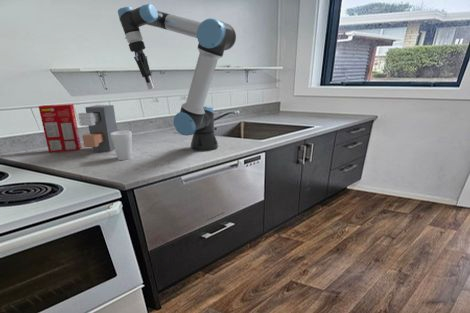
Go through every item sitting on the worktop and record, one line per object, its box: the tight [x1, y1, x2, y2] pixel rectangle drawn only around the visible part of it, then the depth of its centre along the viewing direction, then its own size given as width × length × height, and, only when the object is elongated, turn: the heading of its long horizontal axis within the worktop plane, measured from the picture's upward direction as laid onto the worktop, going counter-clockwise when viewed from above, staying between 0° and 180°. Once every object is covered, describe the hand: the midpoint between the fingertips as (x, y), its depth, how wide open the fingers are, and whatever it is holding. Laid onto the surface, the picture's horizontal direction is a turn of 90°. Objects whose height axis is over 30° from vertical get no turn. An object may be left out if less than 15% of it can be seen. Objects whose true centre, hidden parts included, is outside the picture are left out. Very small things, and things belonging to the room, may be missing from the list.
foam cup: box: [110, 130, 133, 161], centre depth 131 cm, size 10×9×13 cm
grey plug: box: [78, 112, 101, 127], centre depth 138 cm, size 13×6×6 cm, turn 175°
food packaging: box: [38, 103, 82, 154], centre depth 147 cm, size 15×5×25 cm, turn 106°
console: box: [84, 104, 118, 153], centre depth 147 cm, size 10×10×24 cm
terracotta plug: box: [81, 133, 104, 148], centre depth 141 cm, size 13×6×6 cm, turn 175°
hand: (151, 88), depth 142 cm, fingers closed
